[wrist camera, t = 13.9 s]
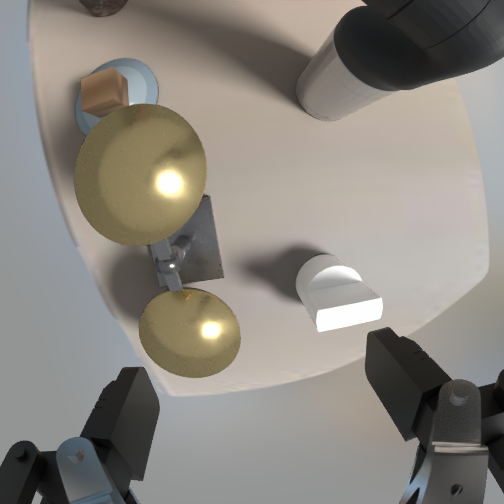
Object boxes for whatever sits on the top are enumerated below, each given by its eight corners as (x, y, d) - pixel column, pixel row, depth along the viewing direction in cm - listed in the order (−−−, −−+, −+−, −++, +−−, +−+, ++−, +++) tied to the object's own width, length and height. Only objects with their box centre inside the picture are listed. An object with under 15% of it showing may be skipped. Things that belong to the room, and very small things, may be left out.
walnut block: (98, 89, 33) (81, 78, 27) (127, 79, 33) (112, 66, 27) (100, 118, 34) (81, 110, 29) (129, 108, 34) (114, 98, 29)
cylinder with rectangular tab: (297, 311, 45) (316, 352, 34) (293, 258, 43) (314, 287, 31) (348, 302, 46) (379, 337, 34) (348, 250, 43) (384, 275, 32)
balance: (125, 143, 37) (68, 126, 21) (210, 123, 37) (195, 89, 21) (169, 342, 45) (146, 409, 29) (244, 333, 46) (250, 402, 30)
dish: (106, 53, 32) (103, 50, 31) (175, 75, 35) (174, 72, 34) (65, 127, 35) (61, 126, 34) (131, 156, 38) (128, 156, 36)
